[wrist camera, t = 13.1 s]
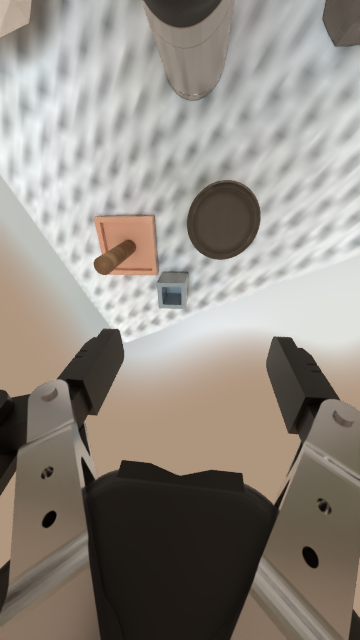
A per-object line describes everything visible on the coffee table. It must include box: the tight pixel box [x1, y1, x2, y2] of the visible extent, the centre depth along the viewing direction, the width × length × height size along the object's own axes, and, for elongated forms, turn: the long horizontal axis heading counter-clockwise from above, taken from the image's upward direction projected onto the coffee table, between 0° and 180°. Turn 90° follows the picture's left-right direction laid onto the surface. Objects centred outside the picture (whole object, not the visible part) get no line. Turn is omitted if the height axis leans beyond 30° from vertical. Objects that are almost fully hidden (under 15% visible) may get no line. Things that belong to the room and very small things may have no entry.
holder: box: [157, 272, 188, 309], centre depth 47 cm, size 6×6×7 cm
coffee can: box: [187, 180, 260, 260], centre depth 35 cm, size 10×10×14 cm
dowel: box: [94, 240, 136, 275], centre depth 39 cm, size 3×3×14 cm
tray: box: [94, 215, 159, 275], centre depth 45 cm, size 12×12×2 cm
